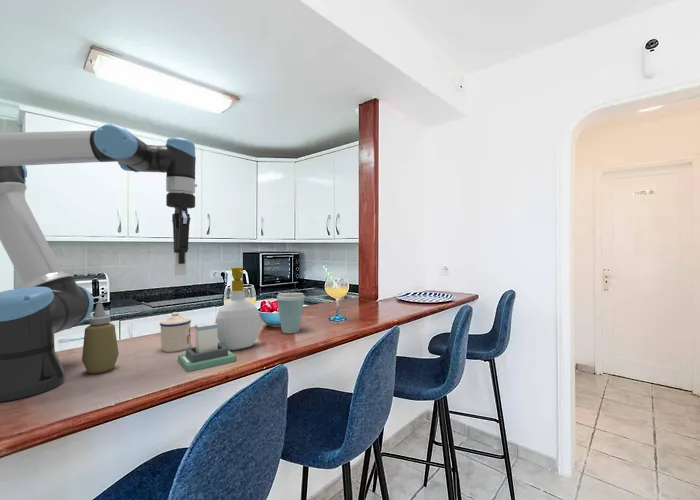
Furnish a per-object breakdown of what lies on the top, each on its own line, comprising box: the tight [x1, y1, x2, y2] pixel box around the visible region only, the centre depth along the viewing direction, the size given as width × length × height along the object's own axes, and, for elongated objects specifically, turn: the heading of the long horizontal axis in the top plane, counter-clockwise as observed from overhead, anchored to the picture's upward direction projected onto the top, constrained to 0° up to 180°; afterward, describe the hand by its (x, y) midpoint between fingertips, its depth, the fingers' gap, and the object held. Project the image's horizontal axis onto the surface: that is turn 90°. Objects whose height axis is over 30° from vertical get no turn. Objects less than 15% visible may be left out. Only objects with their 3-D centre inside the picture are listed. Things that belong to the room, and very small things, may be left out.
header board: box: [177, 342, 237, 373], centre depth 99 cm, size 13×12×4 cm
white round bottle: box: [215, 266, 261, 351], centre depth 110 cm, size 14×9×26 cm, turn 125°
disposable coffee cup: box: [276, 292, 306, 334], centre depth 131 cm, size 11×11×15 cm
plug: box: [194, 321, 219, 354], centre depth 99 cm, size 5×4×9 cm
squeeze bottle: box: [81, 303, 120, 374], centre depth 93 cm, size 8×8×18 cm
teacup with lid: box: [159, 311, 192, 353], centre depth 113 cm, size 12×9×12 cm
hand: (180, 275), depth 99 cm, fingers closed
